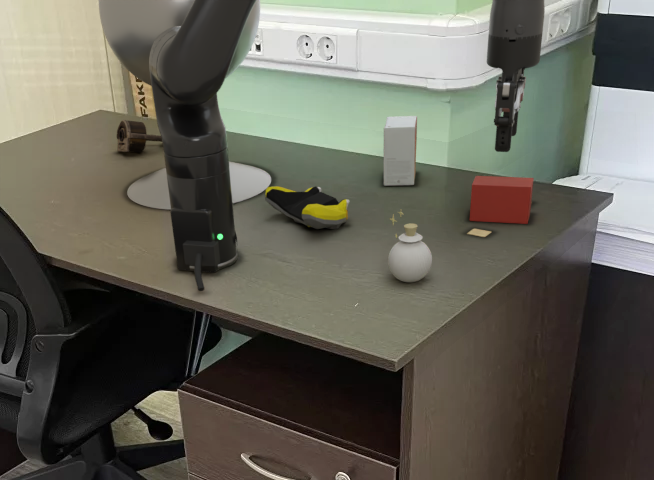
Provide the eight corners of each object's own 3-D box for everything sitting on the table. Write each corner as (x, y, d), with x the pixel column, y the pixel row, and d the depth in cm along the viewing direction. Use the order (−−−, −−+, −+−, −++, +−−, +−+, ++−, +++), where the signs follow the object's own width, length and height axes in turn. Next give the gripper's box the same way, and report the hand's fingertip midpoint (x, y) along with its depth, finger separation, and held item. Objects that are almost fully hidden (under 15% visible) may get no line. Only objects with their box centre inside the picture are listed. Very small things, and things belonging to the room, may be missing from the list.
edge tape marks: (484, 237, 133) (484, 236, 133) (466, 233, 134) (466, 233, 134) (532, 202, 144) (532, 202, 144) (515, 200, 145) (515, 199, 145)
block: (527, 224, 136) (531, 187, 133) (469, 221, 139) (471, 184, 136) (530, 214, 139) (533, 177, 136) (473, 211, 142) (475, 175, 139)
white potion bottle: (408, 293, 118) (409, 223, 113) (372, 276, 123) (372, 209, 118) (440, 280, 121) (443, 212, 115) (404, 265, 126) (405, 198, 121)
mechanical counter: (112, 121, 189) (108, 123, 180) (169, 110, 189) (168, 110, 180) (120, 155, 191) (116, 158, 182) (176, 144, 192) (175, 146, 182)
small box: (414, 186, 155) (415, 126, 149) (382, 186, 156) (383, 127, 151) (416, 172, 162) (417, 115, 156) (386, 172, 163) (386, 115, 157)
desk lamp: (223, 154, 181) (200, -92, 157) (300, 184, 161) (287, -93, 137) (103, 185, 169) (59, -77, 145) (170, 221, 149) (132, -76, 125)
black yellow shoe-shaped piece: (310, 243, 136) (361, 227, 140) (308, 209, 133) (361, 194, 137) (261, 217, 147) (309, 204, 151) (258, 186, 144) (308, 173, 148)
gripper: (495, 22, 131) (486, 130, 140) (482, 39, 120) (474, 155, 128) (546, 21, 129) (535, 131, 137) (538, 39, 117) (526, 157, 126)
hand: (505, 143), depth 133 cm, fingers open, 8 cm apart
